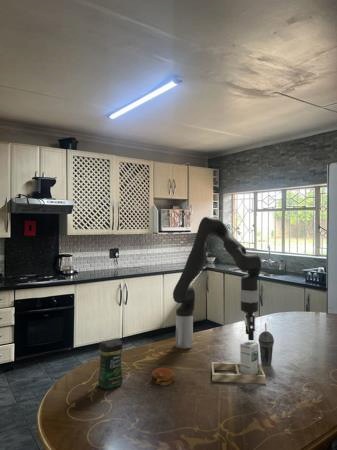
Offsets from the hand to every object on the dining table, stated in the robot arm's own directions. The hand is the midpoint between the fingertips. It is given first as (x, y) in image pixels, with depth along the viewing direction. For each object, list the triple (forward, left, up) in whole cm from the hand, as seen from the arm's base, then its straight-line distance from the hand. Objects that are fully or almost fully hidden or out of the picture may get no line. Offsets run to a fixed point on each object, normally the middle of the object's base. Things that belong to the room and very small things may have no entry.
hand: (249, 337), depth 151 cm
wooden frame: (-5, 0, -17) cm, 18 cm away
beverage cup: (+10, +14, -17) cm, 24 cm away
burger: (-37, -8, -18) cm, 42 cm away
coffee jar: (-58, -14, -17) cm, 62 cm away
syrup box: (0, 0, -17) cm, 17 cm away
